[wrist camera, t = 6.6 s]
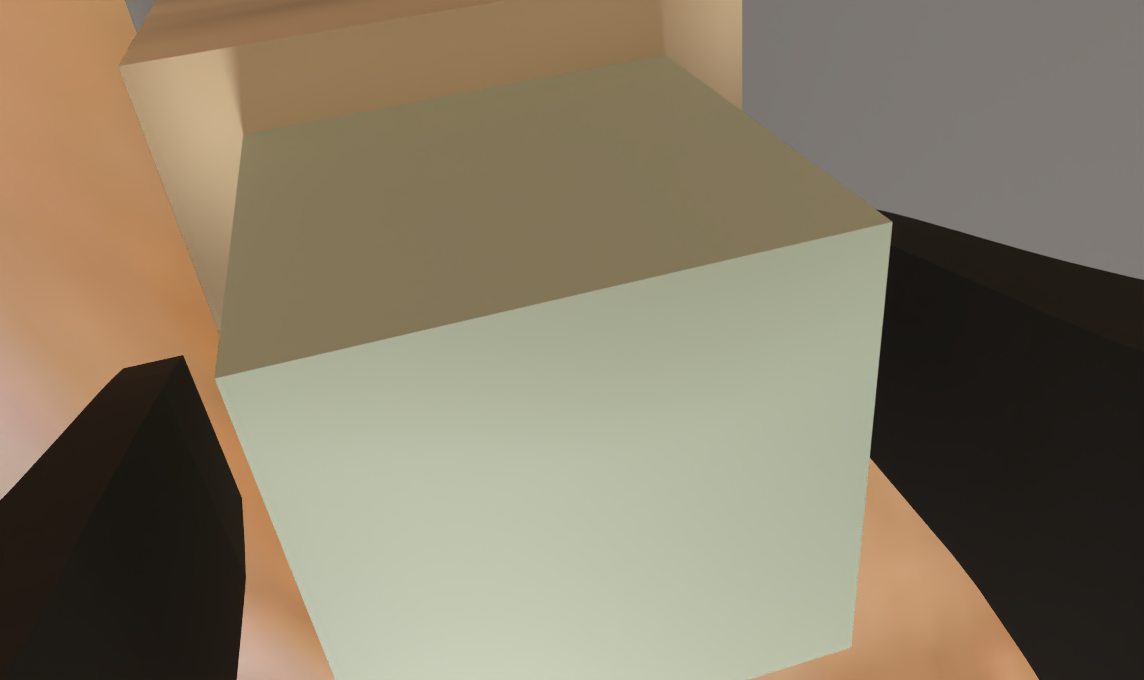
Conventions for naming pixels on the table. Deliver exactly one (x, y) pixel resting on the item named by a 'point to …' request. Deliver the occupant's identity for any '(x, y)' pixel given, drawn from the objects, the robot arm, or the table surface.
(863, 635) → the table surface
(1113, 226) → the mat
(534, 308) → the sage cube
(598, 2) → the base block
